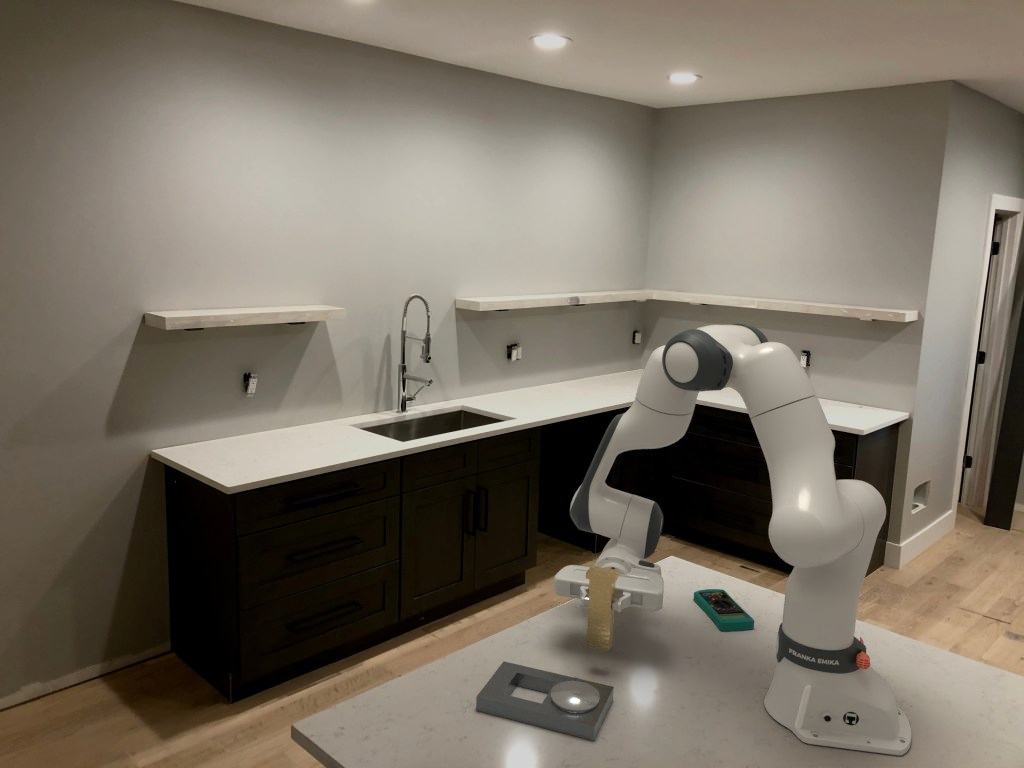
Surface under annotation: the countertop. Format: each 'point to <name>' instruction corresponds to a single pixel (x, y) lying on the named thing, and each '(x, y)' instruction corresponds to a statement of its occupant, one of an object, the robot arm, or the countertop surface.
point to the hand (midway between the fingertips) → (600, 605)
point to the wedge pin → (601, 607)
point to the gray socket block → (547, 700)
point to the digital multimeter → (723, 610)
